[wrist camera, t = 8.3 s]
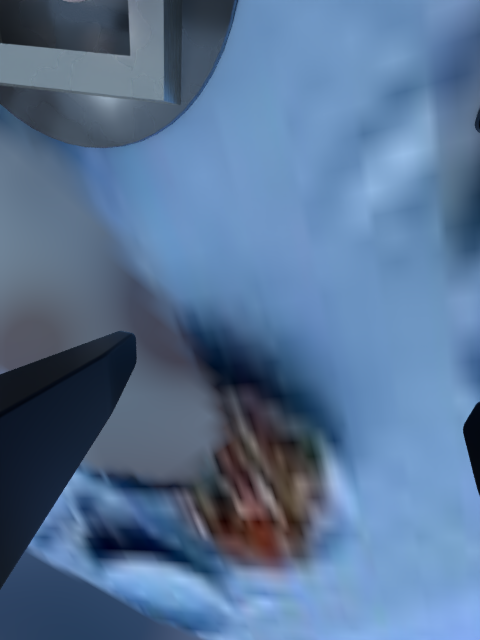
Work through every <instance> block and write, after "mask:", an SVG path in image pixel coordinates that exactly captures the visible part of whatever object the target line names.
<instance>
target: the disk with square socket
mask: <svg viewBox="0 0 480 640" xmlns="http://www.w3.org/2000/svg"><path fill="white" fill-rule="evenodd" d="M236 5H237V0H84V1H82V2H76V3H73V2H67V1H64V0H0V104H1V105H2V106H3V107H5V108H6V109H7V110H8V111H9V112H11V113H12V114H13V115H14V116H15V117H17V118H18V119H20V120H21V121H23V122H24V123H26V124H27V125H29V126H30V127H32V128H33V129H35V130H37V131H39V132H41V133H43V134H45V135H47V136H49V137H51V138H54V139H57V140H60V141H63V142H65V143H68V144H73V145H78V146H83V147H95V148H110V147H119V146H126V145H130V144H133V143H137V142H141V141H143V140H145V139H147V138H150V137H152V136H154V135H156V134H158V133H159V132H161V131H162V130H164V129H165V128H167V127H168V126H170V125H171V124H173V123H174V122H175V121H176V120H177V119H178V118H179V117H180V116H181V115H182V114H184V113H185V112H186V111H187V110H188V109H189V107H190V106H191V105H192V104H193V102H194V101H195V100H196V99H197V98H198V96H199V95H200V94H201V92H202V91H203V89H204V87H205V86H206V84H207V83H208V81H209V79H210V78H211V76H212V75H213V72H214V70H215V68H216V66H217V64H218V62H219V60H220V57H221V55H222V53H223V51H224V48H225V45H226V42H227V39H228V36H229V33H230V30H231V27H232V23H233V18H234V14H235V9H236Z"/></svg>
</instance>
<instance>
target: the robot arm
mask: <svg viewBox="0 0 480 640" xmlns="http://www.w3.org/2000/svg"><path fill="white" fill-rule="evenodd" d="M475 128H476V130H477V131H478V132H480V110H479V113H478V115H477V118H476V121H475ZM136 358H137V357H136V337H135V335H134V334H133V333H129V332H124V331H118V332H115V333H112V334H109V335H107V336H104V337H102V338H99V339H96V340H93V341H91V342H88V343H85V344H82V345H80V346H77V347H74V348H71V349H69V350H66V351H63V352H61V353H58V354H55V355H52V356H49V357H47V358H44V359H41V360H39V361H36V362H33V363H30V364H28V365H25V366H22V367H19V368H17V369H14V370H11V371H8V372H6V373H3V374H0V589H1V588H2V586H3V584H4V583H5V581H6V580H7V578H8V577H9V575H10V573H11V572H12V570H13V569H14V567H15V565H16V564H17V562H18V561H19V559H20V558H21V556H22V555H23V553H24V551H25V550H26V548H27V547H28V545H29V544H30V542H31V540H32V539H33V537H34V536H35V534H36V533H37V531H38V529H39V528H40V526H41V525H42V523H43V521H44V520H45V518H46V517H47V515H48V514H49V512H50V510H51V509H52V507H53V506H54V504H55V503H56V501H57V499H58V498H59V496H60V495H61V493H62V492H63V490H64V488H65V487H66V485H67V484H68V482H69V480H70V479H71V477H72V476H73V474H74V473H75V471H76V469H77V468H78V466H79V465H80V463H81V462H82V460H83V458H84V457H85V455H86V454H87V452H88V450H89V449H90V447H91V445H92V444H93V443H94V441H95V439H96V438H97V436H98V435H99V433H100V432H101V430H102V428H103V427H104V425H105V423H106V422H107V420H108V419H109V417H110V416H111V414H112V412H113V410H114V408H115V406H116V404H117V402H118V400H119V398H120V396H121V394H122V392H123V390H124V388H125V386H126V384H127V382H128V380H129V377H130V375H131V373H132V371H133V369H134V367H135V364H136ZM463 433H464V438H465V442H466V446H467V450H468V454H469V458H470V462H471V466H472V470H473V474H474V478H475V482H476V485H477V489H478V492H479V495H480V402H478V403H477V404H476V405H475V407H474V409H473V410H472V412H471V414H470V415H469V417H468V419H467V420H466V422H465V424H464V427H463Z"/></svg>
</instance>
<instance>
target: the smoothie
mask: <svg viewBox="0 0 480 640" xmlns="http://www.w3.org/2000/svg"><path fill="white" fill-rule="evenodd" d="M64 1H67V2H73V3H76V2H82V1H84V0H64Z"/></svg>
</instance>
